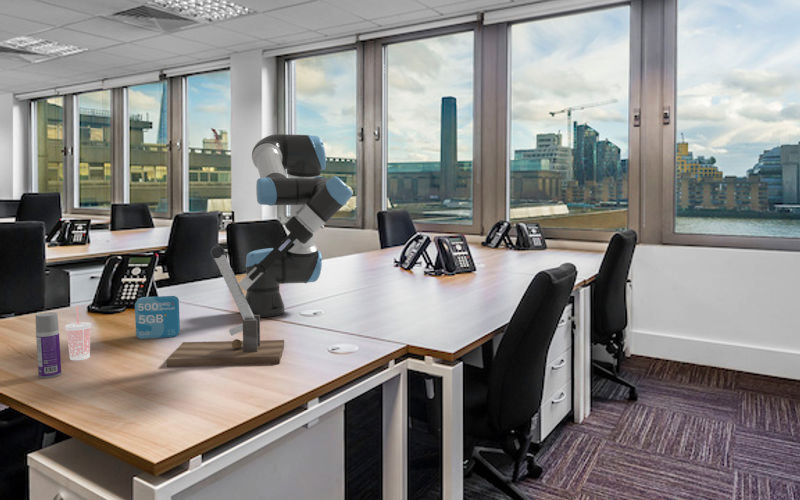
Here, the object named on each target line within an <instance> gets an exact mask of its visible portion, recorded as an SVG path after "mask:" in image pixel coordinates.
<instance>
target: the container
mask: <svg viewBox="0 0 800 500" xmlns="http://www.w3.org/2000/svg"><path fill="white" fill-rule="evenodd" d="M35 338H36V339H35V340H36V354H37V368H38V369H37V370H38V372H37V373H38V378H39V379H51V378H56V377H59V376H61V375H62V360H61V346H60V345H61V343H60V327H59V317H58V313H57V312H52V311H51V312H48V311H47V312H42V313H41V312H40V313H38V314H35Z"/></svg>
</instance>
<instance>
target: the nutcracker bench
mask: <svg viewBox="0 0 800 500" xmlns="http://www.w3.org/2000/svg"><path fill="white" fill-rule="evenodd" d="M254 317H255V318H256V319H257V320H244V319H242V323H243V331H242V340H240V339H237V338H235V339H233V340H222V341H221V340H220V341H218V340H217V341H215V340H213V341H182V343H181V344H180V345H179V346H178V347H177V348H176V349H175V350H174V351H173V352H172V354H170V355H169V356H168V357H167V358H166V367H167V368H168V367H169V368H174V367H175V368H176V367H180V368H181V367H209V366H211V367H212V366H245V365H246V366H247V365H279V364H280V363H281V360H282V357H283V353H284V348H285V339H271V340H270V339H267V340H265V339H262V340H261V317H260V315H254ZM257 321H258V323H257Z"/></svg>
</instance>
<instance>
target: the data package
mask: <svg viewBox="0 0 800 500" xmlns="http://www.w3.org/2000/svg"><path fill="white" fill-rule="evenodd" d="M179 300H180V299H179V297H177V296H176V295H164V296H163V295H162V296H161V295H160V296H141V297H139V298H137V300H136V302H135V303H134V316H135V318H134V321H135V335H136V337H137V338H138V339H141V340H146V339H147V340H148V339H149V338H150V339H163V338H165V337H166V338H174V337H177V336H178V335H179V333H180V329H181V327H180V326H181V325H180V322H181V321H180V301H179Z"/></svg>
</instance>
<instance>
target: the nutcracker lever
mask: <svg viewBox="0 0 800 500" xmlns="http://www.w3.org/2000/svg"><path fill="white" fill-rule="evenodd" d="M225 253H226V251H225V248H223V247H222V246H220V245H216V246H213V247H212V248H211V250H210V255H211V257H212V258H213V259H214V261H215V263H216V265H217V267H218V270H219V271H220V274H221V275H222V277H223V280H224V282H225V284H226V286H227V288H228V290H229V292H230V294H231V296H232V298H233V301H234V302H235V305H236V307H237V308H238V311H239V314H240V315H241V317H242V320H257V319H256V318H255V317H254V315H253V313H252V311H251V308H250V306H249V304H248V302H247V300H246V298H245V296H246V295H245V294H244V292H243V290H242V287H241V286H240V285H239V281H238V279H237V277H236V276H235V273H234V271H233V268H232V267H231V264H230V263H229V260H228V258H227V256H226V254H225ZM257 323H258V321H257ZM228 332H229V335H230V336H234V335H236V334H238V333H241V332H243V322H242V323H240V324H238V325H235V326H233V327H230V329H229V330H228Z"/></svg>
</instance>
